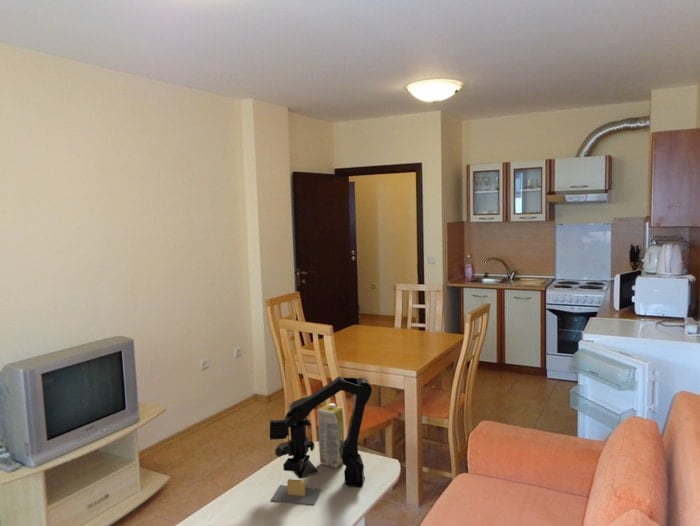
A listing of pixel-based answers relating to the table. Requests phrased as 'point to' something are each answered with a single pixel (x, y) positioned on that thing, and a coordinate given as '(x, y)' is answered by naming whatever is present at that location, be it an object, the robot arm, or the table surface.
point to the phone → (309, 469)
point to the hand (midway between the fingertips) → (300, 477)
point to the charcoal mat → (296, 496)
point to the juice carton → (330, 434)
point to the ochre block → (296, 487)
